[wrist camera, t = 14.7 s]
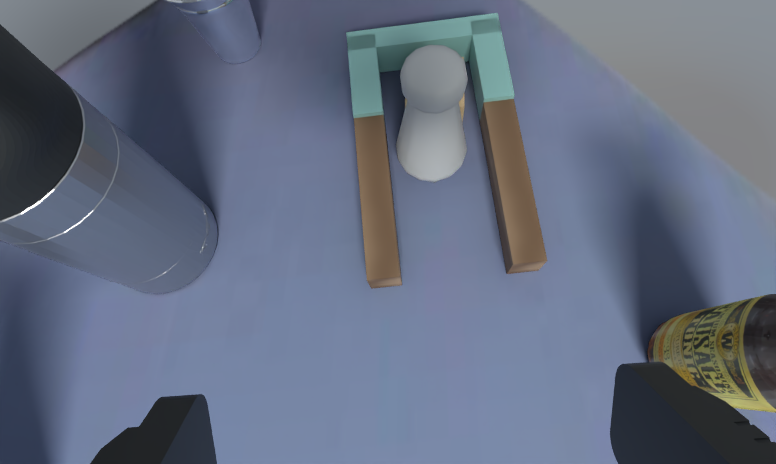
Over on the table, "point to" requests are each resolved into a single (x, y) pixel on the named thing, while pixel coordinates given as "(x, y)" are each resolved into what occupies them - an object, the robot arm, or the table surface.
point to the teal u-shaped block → (396, 43)
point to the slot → (506, 183)
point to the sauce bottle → (724, 351)
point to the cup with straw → (224, 26)
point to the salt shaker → (432, 113)
